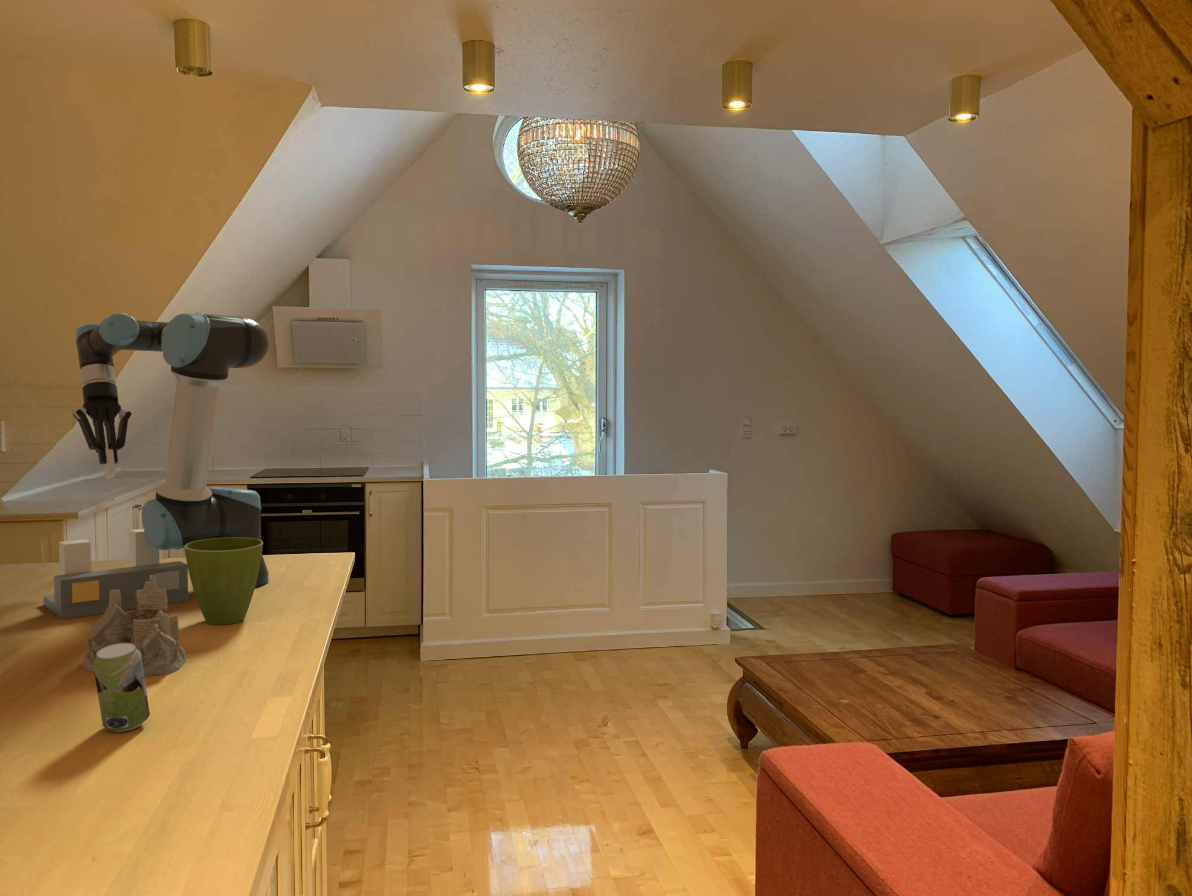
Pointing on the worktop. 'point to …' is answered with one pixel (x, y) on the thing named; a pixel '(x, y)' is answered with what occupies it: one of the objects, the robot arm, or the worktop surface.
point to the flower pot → (224, 576)
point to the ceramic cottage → (140, 630)
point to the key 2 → (142, 549)
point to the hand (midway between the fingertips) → (110, 476)
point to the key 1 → (74, 557)
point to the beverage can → (121, 687)
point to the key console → (94, 587)
